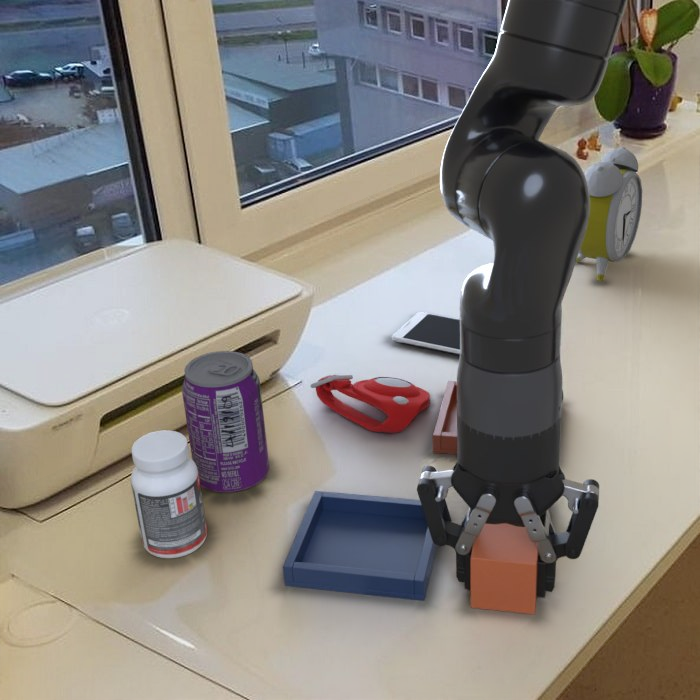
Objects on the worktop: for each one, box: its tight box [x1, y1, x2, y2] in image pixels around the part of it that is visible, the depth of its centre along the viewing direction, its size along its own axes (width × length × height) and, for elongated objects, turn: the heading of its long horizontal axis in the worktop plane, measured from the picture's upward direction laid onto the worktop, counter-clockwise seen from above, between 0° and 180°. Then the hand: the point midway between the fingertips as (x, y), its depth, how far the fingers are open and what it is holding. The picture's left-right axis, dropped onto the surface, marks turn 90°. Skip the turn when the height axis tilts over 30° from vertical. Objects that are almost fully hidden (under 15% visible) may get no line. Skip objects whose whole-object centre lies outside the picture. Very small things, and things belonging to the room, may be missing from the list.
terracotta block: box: [470, 523, 539, 615], centre depth 84 cm, size 5×5×5 cm
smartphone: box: [391, 311, 460, 356], centre depth 123 cm, size 8×1×15 cm
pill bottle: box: [130, 429, 208, 559], centre depth 91 cm, size 6×6×10 cm
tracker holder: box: [310, 374, 431, 434], centre depth 109 cm, size 12×4×10 cm
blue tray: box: [282, 490, 439, 602], centre depth 90 cm, size 12×11×2 cm
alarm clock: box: [576, 146, 643, 282], centre depth 136 cm, size 12×7×15 cm, turn 148°
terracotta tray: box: [432, 380, 457, 455], centre depth 106 cm, size 12×11×2 cm
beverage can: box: [181, 350, 270, 493], centre depth 99 cm, size 7×7×12 cm
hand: (505, 586), depth 85 cm, fingers closed on terracotta block, 5 cm apart
